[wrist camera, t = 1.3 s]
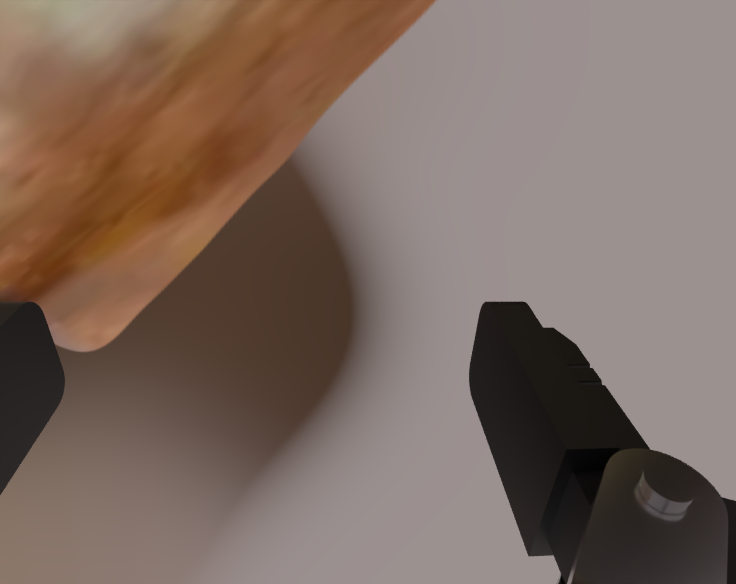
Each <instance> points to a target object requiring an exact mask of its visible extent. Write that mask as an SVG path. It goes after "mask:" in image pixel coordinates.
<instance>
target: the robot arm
mask: <svg viewBox="0 0 736 584" xmlns="http://www.w3.org/2000/svg"><path fill="white" fill-rule="evenodd" d="M469 383H470V391H471V396H472V399H473V402H474V405H475V408H476V411H477V413H478V416H479V419H480V422H481V425H482V427H483V430H484V433H485V436H486V439H487V441H488V444H489V447H490V450H491V453H492V455H493V458H494V461H495V464H496V466H497V469H498V472H499V475H500V478H501V481H502V483H503V486H504V489H505V492H506V494H507V497H508V500H509V503H510V506H511V508H512V511H513V514H514V517H515V520H516V523H517V525H518V528H519V531H520V534H521V537H522V539H523V542H524V545H525V548H526V550H527V553H528V556H545V555H554V557H555V560H556V562H557V565H558V567H559V570H560V572H561V574H560V576H559V579H558V581H557V584H736V501H734V500H729V499H726V498H722V497H721V496H720V494H719V493H718V492H717V490H716V489H715V488H714V486H713V485H712V484H711V483H710V482H709V481H708V480H707V479H706V478H705V477H704V476H702V475H701V474H700V473H699V472H697V471H696V470H695V469H693V468H692V467H691V466H689V465H687V464H686V463H684V462H682V461H681V460H679V459H676V458H674V457H672V456H670V455H667V454H664V453H662V452H658V451H654V450H650V448H649V447H648V446H647V444H646V443H645V441H644V440H643V439H642V437H641V436H640V434H639V433H638V431H637V430H636V429H635V427H634V426H633V425H632V423H631V422H630V420H629V419H628V417H627V416H626V415H625V413H624V412H623V410H622V409H621V407H620V406H619V405H618V403H617V402H616V400H615V399H614V398H613V396H612V395H611V393H610V392H609V390H608V389H607V388H606V386H605V385H602V381H601V379H600V378H599V376H598V375H597V373H596V372H595V371H594V369H593V368H590V364H589V362H588V361H587V360H586V358H585V357H584V355H583V354H582V352H581V351H580V349H579V348H578V347H577V345H576V344H575V343H573V342H572V341H571V340H569V339H568V338H567V337H565V336H564V335H563V334H561V333H560V332H558V331H557V330H556V329H554V328H543V327H542V325H541V324H540V322H539V321H538V319H537V318H536V316H535V315H534V313H533V311H532V310H531V308H530V307H529V305H528V304H527V303H526V302H485V303H484V304H483V305H482V307H481V310H480V314H479V319H478V324H477V330H476V335H475V341H474V346H473V351H472V357H471V362H470V369H469ZM64 385H65V378H64V371H63V367H62V365H61V362H60V359H59V356H58V353H57V350H56V347H55V344H54V342H53V339H52V336H51V333H50V330H49V327H48V324H47V321H46V319H45V316H44V313H43V311H42V309H41V308H40V307H39V305H37V304H36V303H34V302H0V495H1V493H2V492H3V490H4V489H5V487H6V485H7V484H8V482H9V481H10V479H11V478H12V476H13V475H14V473H15V472H16V470H17V469H18V467H19V465H20V464H21V462H22V461H23V459H24V458H25V456H26V455H27V453H28V452H29V450H30V449H31V447H32V445H33V444H34V442H35V441H36V439H37V438H38V436H39V435H40V433H41V432H42V430H43V429H44V427H45V425H46V424H47V422H48V421H49V419H50V417H51V416H52V415H53V413H54V412H55V410H56V408H57V407H58V405H59V403H60V401H61V399H62V396H63V392H64Z"/></svg>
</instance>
